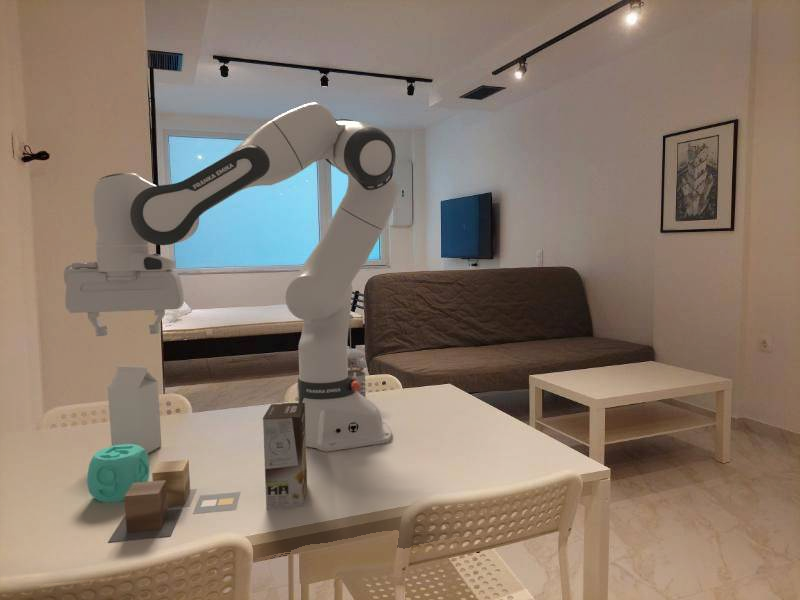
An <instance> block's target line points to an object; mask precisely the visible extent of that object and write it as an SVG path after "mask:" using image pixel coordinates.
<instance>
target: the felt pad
mask: <svg viewBox="0 0 800 600" xmlns="http://www.w3.org/2000/svg"><path fill="white" fill-rule="evenodd" d="M182 512H183V508H177V509H168V516H167V518H166V520H165V522H164V524H163V526H162V528H161V530H155V531H145V532H135V533H127V529H126V514H124V516H123V518H122V519H121V521H120V522H119V524H118V525H117V527H116V528H115V530H114V531H113V534H112V535H111V536H110V538H109V540H108V541H107V543H109V544H110V543H118V542H119V543H120V542H130V541H137V540H138V541H142V540H148V539H150V540H151V539H161V538H169V537H171V536H172V534H173V533H174V530H175V528H176V525H177V523H178V521H179V519H180V516H181V514H182Z"/></svg>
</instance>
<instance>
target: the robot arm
mask: <svg viewBox="0 0 800 600" xmlns="http://www.w3.org/2000/svg"><path fill="white" fill-rule="evenodd" d="M322 160H325V161H326V162H327V163H329V164H330V165H331V166H333V167H334V168H336V169H337V171H339V172H340V173H342V174H344V175H346V176H347V178H348V179H347V180H348V183H347V188H346V190H345V191H346V192H345V194H344V196H343V197H342V199H341V201H340V203H339V205H338V207H337V208H336V210H335V212H334V215H333V217H332V219H331V220H330V222H329V224H328V226H327V228H326V230H325V232H324V234H323V235H322V237H321V239H320V241H319V242H318V243H317V245H316V247H314V249H313V250H312V252H311V253H310V255H309V256H308V258H307V259H306V260H305V262H304V264H303V265H302V266H301V268H300V270H299V271H298V273H297V274H296V276H295V277H294V278H293V279H292V281H291V282H290V283H289V285H288V286H287V289H286V291H285V303H286V306H287V309H288V311H289V312H290V313H291V314H292V316H294V317H296V318H298V319H299V320H301V321H302V320H303V323H302V328H301V329H302V330H301V335H300V338H299V342H298V347H297V348H298V367H299V368H298V369H299V370H298V371H299V372H298V374H299V377H298V379H297V384H296V387H297V388H296V389H297V390H296V391H297V401H298V402H297V403H305V429H306V448H307V447H308V448H314V449H317V450H319V451H321V452H333V451H340V450H341V451H342V450H347V449H354V448H361V447H367V446H373V445H379V444H380V445H381V444H386V443H389V442H390V441H391V440H392V439H393V432H392V428H391V427H390V425H389V424H387V422H384V421H383V420H382V415H381V412H380V410H379V408H378V406H377V405H376V404H375V403H374V402H372V401H371V400H370V399H368V398H365V397H364V396H362V395H361V394H359V393H358V392H357V391H358V390H359V389H360V387H361V386H360V383H359V382H358V381H357V380H356V379H355V378H354V377H355V376H354V377H353V376H352V377H351V376H349V375H348V366H349V365H348V362H349V361H348V360H349V359H347V349H348V341H349V340H348V339H349V331H350V322H351V319H350V315H351V308H352V297H353V284H352V283H353V281H354V279H355V278H356V277H357V275H358V274H359V272H360V270H361V269H362V267H363V266H364V265H365V264H366V262H367V261H368V259H369V257H370V255H371V254H372V251H373V249H374V248H375V246H376V244H377V242H378V240H379V238H380V236H381V234H382V233H383V231H384V228H385V227H386V225H387V223H388V221H389V218H390V216H391V213H392V211H393V208H394V205H395V203H396V200H397V197H398V192H399V188H398V184H397V183H396V181H395V179H394V178H393V176H394V167H395V163H396V148H395V145H394V142H393V140H392V139H391V138H390V137H389V135H388V134H387V133H385V132H384V131H383V130H382V129H380V128H377V127H374V126H373V125H371V124H369V123H365V122H362V121H354V120H353V119H345V118H340V119H339V118H338V119H336V118H335V117H334V115H333V113H332V112H331V111H330V110H329V109H328V108H327V107H325V106H324V105H323V104H321V103H318V102H309V103H306V104H303V105H300V106H298V107H295V108H293V109H290V110H288V111H286V112H284V113H282V114H280V115H278V116H276V117H275V118H272V119H271V120H269V121H267V123H265V124H262V125H261V126H260V127H259V128H258V129H256V130H255V131H254V132H252V133H251V134H250V135H248V136H247V137H246V138H245V139H244V140H243V141H242V142H240V143H239V144H238V145H237V146H236V147H235V148H233V150H232V151H230V152H229V153H227V155H225V156H224V157H223V158H221V159H218V160H217V161H215V162H214V163H212V164H210V165H208V166H207V167H205V168H203V169H202V170H200V171H198V172H196V173H195V174H192V175H191V176H190V177H188V178H186V179H184V180H182V181H179V182H176V183H170V184H163V185H162V184H160V185H156V184H154V183H152V182H150V181H149V180H145V179H144V178H143V177H141V176H140V175H139V174H137V173H134V172H125V173H124V172H121V173H113V174H108V175H105V176H103V177H101V178H99V179H98V180H97V181H96V182H95V185H94V188H93V189H94V190H93V199H92V200H93V204H92V207H93V208H92V209H93V222H94V226H95V228H96V234H97V235H96V237H97V238H96V240H95V241H96V242H95V250H96V251H95V252H96V261H95V262H94V261H93V262H92V261H91V262H90V261H89V262H73V263H71V264H70V265H68V266H66V267H65V269H64V270H63V280H64V283H65V285H66V287H65V297H64V298H65V300H64V301H65V309H66V310H67V311H68V312H69V313H70V314H81V313H87V320H89V322H90V323H91V325H92V326H93V327H94V329H95V335H96V337H106V336H107V335H108V331H107V329H108V327H107V325H102V323H101V322H100V321H99V319H98V318H99V317H100V315H101V314H100V313H106V312H109V313H110V312H133V311H134V312H136V311H137V312H138V311H139V312H140V311H154V316H155V317H156V316H157V317H156V320H155V322H154V323H150V324H149V326H148V327H149V328H148V329H149V334H150V335H156V334H160V332H161V331H160V329H161V328H160V324H161V323H162V321H163V319H164V317H165V315H166V313H165V312H166V310H178V309H180V308H182V306H183V305H184V303H185V300H184V299H185V297H184V290H183V284H182V280H181V278H180V275H179V274H178V273H177V272H176V271H174V269H175V268H176V260H175V259H173V258H171V257H169V256H164V255H162V254H158V253H154V252H150V251H149V243H150V244H153V245H157V246H169V245H173V244H177V243H182V242H185V241H186V240H188V239H189V238H191V237H192V236H193V235H194V234H195V233H196V232H197V230H198V227H199V224H200V217H201V216H202V215H203V214H204V213H206V212H207V211H208V210H210V209H212V208H213V207H215V206H217V205H219V204H220V203H222V202H224V201H226V200H227V199H228V198H230V197H232V196H233V195H235V194H237V193H238V192H239V193H240V192H241V191H243V190H246V189H249V188H252V187H260V186H261V187H262V186H273V185H275V184H279V183H281V182H284V181H286V180H288V179H290V178H291V177H292V178H293V177H294V176H296V175H297V174H299V173H300V172H302V171H304V170H305V169H307V168H309V166H311V165H312V164H314V163H317V162H320V161H322Z"/></svg>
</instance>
